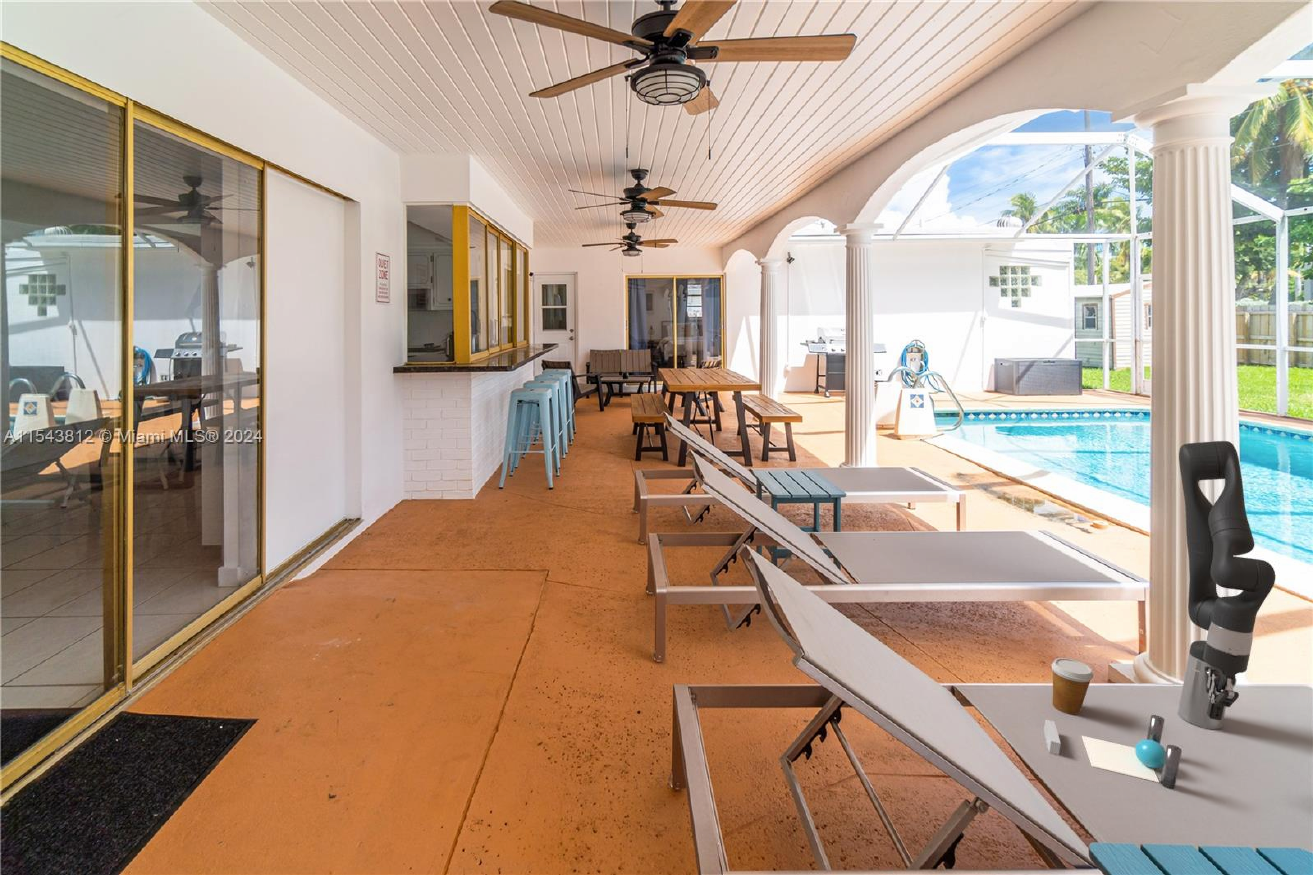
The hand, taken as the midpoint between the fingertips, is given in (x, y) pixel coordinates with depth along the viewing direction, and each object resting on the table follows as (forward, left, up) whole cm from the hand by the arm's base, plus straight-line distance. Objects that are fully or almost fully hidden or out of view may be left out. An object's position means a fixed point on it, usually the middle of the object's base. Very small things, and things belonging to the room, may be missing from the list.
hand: (1213, 717), depth 154 cm
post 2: (+7, -8, -15) cm, 18 cm away
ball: (0, -10, -12) cm, 16 cm away
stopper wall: (0, -30, -15) cm, 34 cm away
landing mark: (0, -16, -15) cm, 22 cm away
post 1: (-7, -8, -15) cm, 18 cm away
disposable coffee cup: (-20, -24, -15) cm, 35 cm away
